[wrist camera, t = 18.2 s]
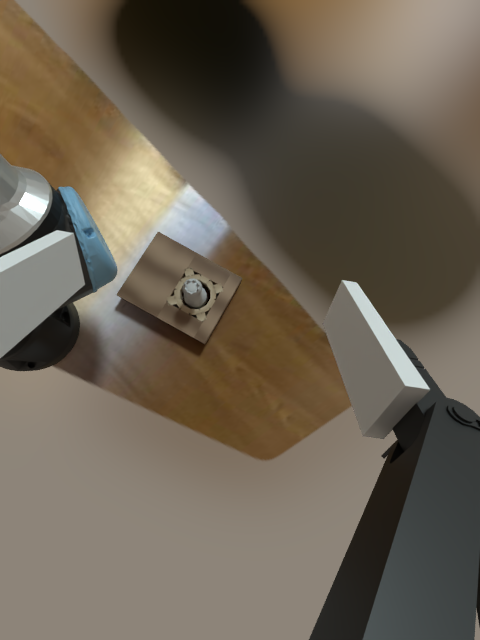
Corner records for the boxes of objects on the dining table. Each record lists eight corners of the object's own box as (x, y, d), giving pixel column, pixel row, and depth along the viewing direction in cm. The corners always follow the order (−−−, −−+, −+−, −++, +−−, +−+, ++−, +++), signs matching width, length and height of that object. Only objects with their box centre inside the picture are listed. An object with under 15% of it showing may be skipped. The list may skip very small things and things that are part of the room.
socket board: (205, 344, 48) (204, 343, 45) (121, 298, 48) (116, 294, 45) (241, 282, 50) (242, 278, 48) (161, 237, 50) (158, 231, 48)
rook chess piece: (212, 293, 49) (210, 281, 41) (200, 313, 49) (196, 305, 41) (192, 282, 49) (187, 268, 41) (179, 301, 49) (172, 290, 41)
